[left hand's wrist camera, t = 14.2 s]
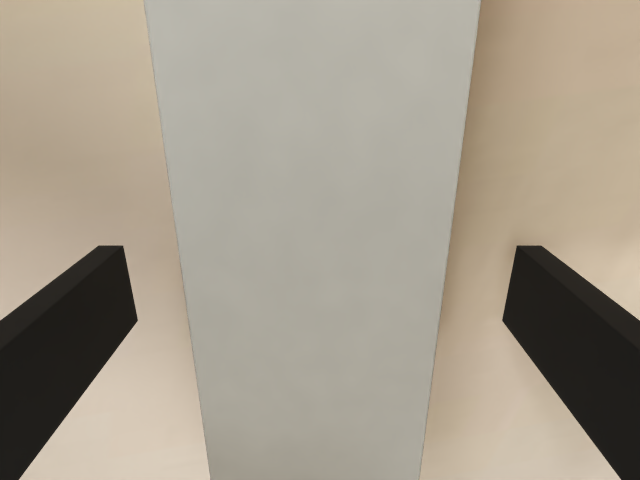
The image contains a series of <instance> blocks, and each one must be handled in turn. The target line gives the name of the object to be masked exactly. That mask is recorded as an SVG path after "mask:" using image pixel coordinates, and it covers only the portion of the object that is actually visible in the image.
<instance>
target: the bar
mask: <svg viewBox="0 0 640 480" xmlns="http://www.w3.org/2000/svg"><path fill="white" fill-rule="evenodd" d="M480 6H481V0H144V7H145V14H146V21H147V28H148V35H149V42H150V49H151V57H152V64H153V71H154V78H155V85H156V92H157V99H158V107H159V114H160V121H161V128H162V135H163V142H164V150H165V157H166V164H167V171H168V178H169V185H170V192H171V200H172V207H173V214H174V221H175V228H176V235H177V243H178V250H179V257H180V264H181V271H182V278H183V285H184V293H185V300H186V307H187V314H188V321H189V328H190V336H191V343H192V350H193V357H194V364H195V371H196V378H197V386H198V393H199V400H200V407H201V414H202V421H203V428H204V436H205V443H206V450H207V457H208V464H209V471H210V479H211V480H419V477H420V470H421V462H422V454H423V446H424V439H425V431H426V423H427V415H428V408H429V400H430V392H431V385H432V377H433V369H434V361H435V354H436V346H437V338H438V330H439V323H440V315H441V307H442V300H443V292H444V284H445V276H446V269H447V261H448V253H449V245H450V238H451V230H452V222H453V215H454V207H455V199H456V191H457V184H458V176H459V168H460V160H461V153H462V145H463V137H464V130H465V122H466V114H467V106H468V99H469V91H470V83H471V75H472V68H473V60H474V52H475V45H476V37H477V29H478V21H479V14H480Z"/></svg>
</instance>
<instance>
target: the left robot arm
mask: <svg viewBox="0 0 640 480" xmlns="http://www.w3.org/2000/svg"><path fill="white" fill-rule="evenodd" d="M137 321H138V319H137V314H136V309H135V304H134V299H133V294H132V289H131V283H130V278H129V273H128V268H127V263H126V258H125V253H124V248H123V246H98V247H96V248H95V249H94V250H92V251H91V252H90V253H88V254H87V255H86V256H85V257H83V258H82V259H81V260H79V261H78V262H77V263H75V264H74V265H73V266H71V267H70V268H69V269H68V270H66V271H65V272H64V273H62V274H61V275H60V276H58V277H57V278H56V279H54V280H53V281H52V282H50V283H49V284H48V285H47V286H45V287H44V288H43V289H41V290H40V291H39V292H37V293H36V294H35V295H33V296H32V297H31V298H29V299H28V300H27V301H26V302H24V303H23V304H22V305H20V306H19V307H18V308H16V309H15V310H14V311H12V312H11V313H10V314H8V315H7V316H6V317H5V318H3V319H2V320H1V321H0V480H19V479H20V477H21V476H22V475H23V473H24V472H25V471H26V469H27V468H28V467H29V465H30V464H31V463H32V461H33V460H34V459H35V457H36V456H37V455H38V453H39V452H40V451H41V449H42V448H43V447H44V445H45V444H46V443H47V441H48V440H49V439H50V437H51V436H52V435H53V433H54V432H55V430H56V429H57V428H58V426H59V425H60V424H61V422H62V421H63V420H64V418H65V417H66V416H67V414H68V413H69V412H70V410H71V409H72V408H73V406H74V405H75V404H76V402H77V401H78V400H79V398H80V397H81V396H82V394H83V393H84V392H85V390H86V389H87V388H88V386H89V385H90V384H91V382H92V381H93V380H94V378H95V377H96V376H97V374H98V373H99V372H100V370H101V369H102V368H103V366H104V365H105V364H106V362H107V361H108V360H109V358H110V357H111V356H112V354H113V353H114V352H115V350H116V349H117V348H118V346H119V345H120V344H121V342H122V341H123V340H124V338H125V337H126V336H127V334H128V333H129V332H130V330H131V329H132V328H133V326H134V325H135V324H136V322H137ZM502 321H503V322H504V324H505V325H506V326H507V328H508V329H509V330H510V332H511V333H512V334H513V336H514V337H515V338H516V340H517V341H518V342H519V344H520V345H521V346H522V348H523V349H524V350H525V352H526V353H527V354H528V356H529V357H530V358H531V360H532V361H533V362H534V364H535V365H536V366H537V368H538V369H539V370H540V372H541V373H542V374H543V376H544V377H545V378H546V380H547V381H548V382H549V384H550V385H551V386H552V388H553V389H554V390H555V392H556V393H557V394H558V396H559V397H560V398H561V400H562V401H563V402H564V404H565V405H566V406H567V408H568V409H569V410H570V412H571V413H572V414H573V416H574V417H575V418H576V420H577V421H578V422H579V424H580V425H581V426H582V428H583V429H584V430H585V432H586V433H587V434H588V436H589V437H590V439H591V440H592V441H593V443H594V444H595V445H596V447H597V448H598V449H599V451H600V452H601V453H602V455H603V456H604V457H605V459H606V460H607V461H608V463H609V464H610V465H611V467H612V468H613V469H614V471H615V472H616V473H617V475H618V476H619V477H620V479H621V480H640V321H639V320H638V319H637V318H635V317H634V316H633V315H632V314H630V313H629V312H628V311H626V310H625V309H624V308H622V307H621V306H620V305H618V304H617V303H616V302H614V301H613V300H612V299H611V298H609V297H608V296H607V295H605V294H604V293H603V292H601V291H600V290H599V289H597V288H596V287H595V286H593V285H592V284H591V283H590V282H588V281H587V280H586V279H584V278H583V277H582V276H580V275H579V274H578V273H576V272H575V271H574V270H572V269H571V268H570V267H569V266H567V265H566V264H565V263H563V262H562V261H561V260H559V259H558V258H557V257H555V256H554V255H553V254H552V253H550V252H549V251H548V250H546V249H545V248H544V247H542V246H517V248H516V253H515V258H514V263H513V268H512V273H511V278H510V283H509V289H508V294H507V299H506V304H505V309H504V314H503V319H502Z"/></svg>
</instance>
